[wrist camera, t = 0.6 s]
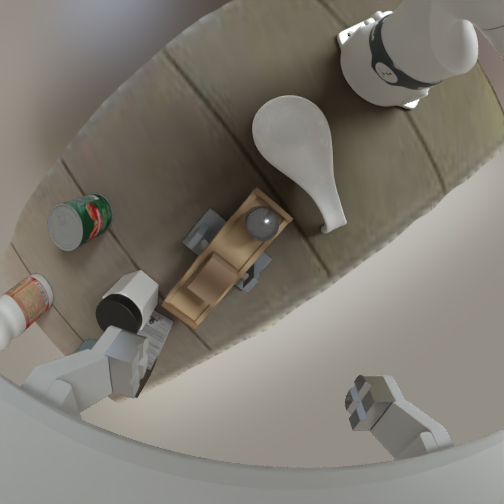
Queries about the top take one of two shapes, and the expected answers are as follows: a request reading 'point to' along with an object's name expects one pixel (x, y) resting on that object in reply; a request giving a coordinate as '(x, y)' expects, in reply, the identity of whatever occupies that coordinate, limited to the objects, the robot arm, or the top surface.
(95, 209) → the canned tomato
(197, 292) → the block
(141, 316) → the jar
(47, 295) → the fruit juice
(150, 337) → the coffee box
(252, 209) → the cylinder
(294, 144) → the spoon rest
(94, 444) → the robot arm
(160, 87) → the top surface
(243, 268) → the beam
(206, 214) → the stand
